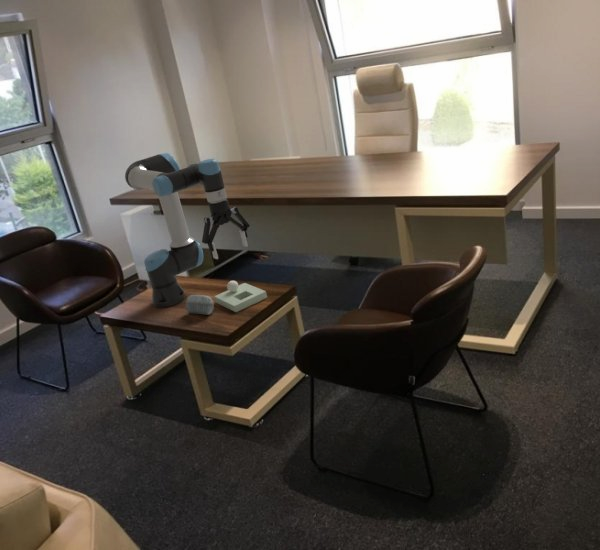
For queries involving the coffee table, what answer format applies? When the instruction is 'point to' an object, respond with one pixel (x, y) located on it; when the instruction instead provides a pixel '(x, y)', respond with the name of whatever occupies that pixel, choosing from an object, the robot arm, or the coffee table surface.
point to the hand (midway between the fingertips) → (231, 252)
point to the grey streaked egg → (199, 304)
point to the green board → (240, 297)
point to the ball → (232, 286)
